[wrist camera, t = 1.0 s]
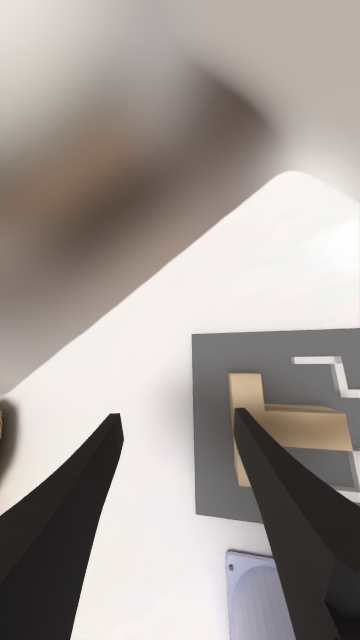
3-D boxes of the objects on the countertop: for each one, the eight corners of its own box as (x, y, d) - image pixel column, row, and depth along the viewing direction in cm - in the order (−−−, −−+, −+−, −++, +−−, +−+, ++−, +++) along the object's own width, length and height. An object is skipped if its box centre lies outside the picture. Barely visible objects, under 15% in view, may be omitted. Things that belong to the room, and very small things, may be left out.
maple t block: (335, 473, 18) (363, 499, 15) (234, 465, 20) (238, 485, 17) (317, 372, 21) (337, 374, 17) (228, 372, 22) (230, 374, 19)
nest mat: (462, 545, 16) (484, 562, 15) (196, 509, 20) (195, 520, 19) (396, 327, 21) (409, 325, 19) (192, 335, 25) (191, 333, 24)
